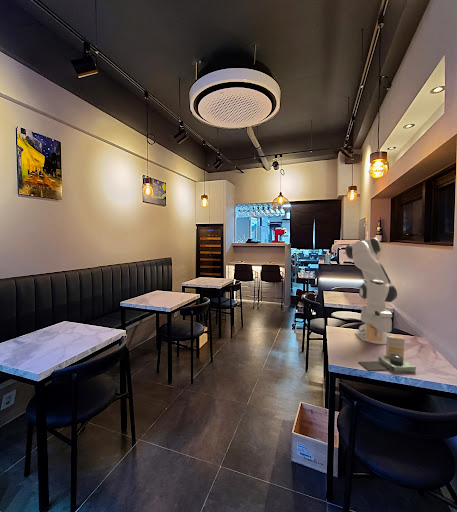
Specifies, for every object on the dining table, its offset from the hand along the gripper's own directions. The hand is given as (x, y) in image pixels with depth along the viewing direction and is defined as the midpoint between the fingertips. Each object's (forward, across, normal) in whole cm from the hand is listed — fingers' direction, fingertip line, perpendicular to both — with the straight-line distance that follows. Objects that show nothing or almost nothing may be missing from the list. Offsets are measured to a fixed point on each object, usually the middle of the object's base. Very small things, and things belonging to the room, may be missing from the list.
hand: (374, 334), depth 135 cm
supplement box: (+18, -9, +20) cm, 28 cm away
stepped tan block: (+3, 0, 0) cm, 3 cm away
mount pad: (+18, 0, 0) cm, 18 cm away
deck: (+18, +1, +13) cm, 22 cm away
